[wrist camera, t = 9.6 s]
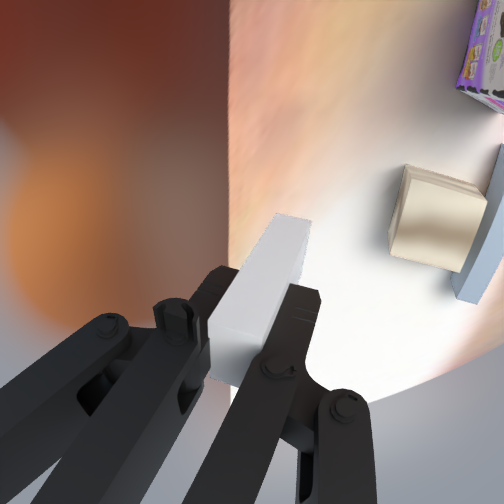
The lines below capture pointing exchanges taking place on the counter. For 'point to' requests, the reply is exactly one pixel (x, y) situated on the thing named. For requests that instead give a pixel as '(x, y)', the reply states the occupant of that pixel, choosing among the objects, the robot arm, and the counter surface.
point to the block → (435, 219)
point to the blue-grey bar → (484, 242)
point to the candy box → (485, 56)
